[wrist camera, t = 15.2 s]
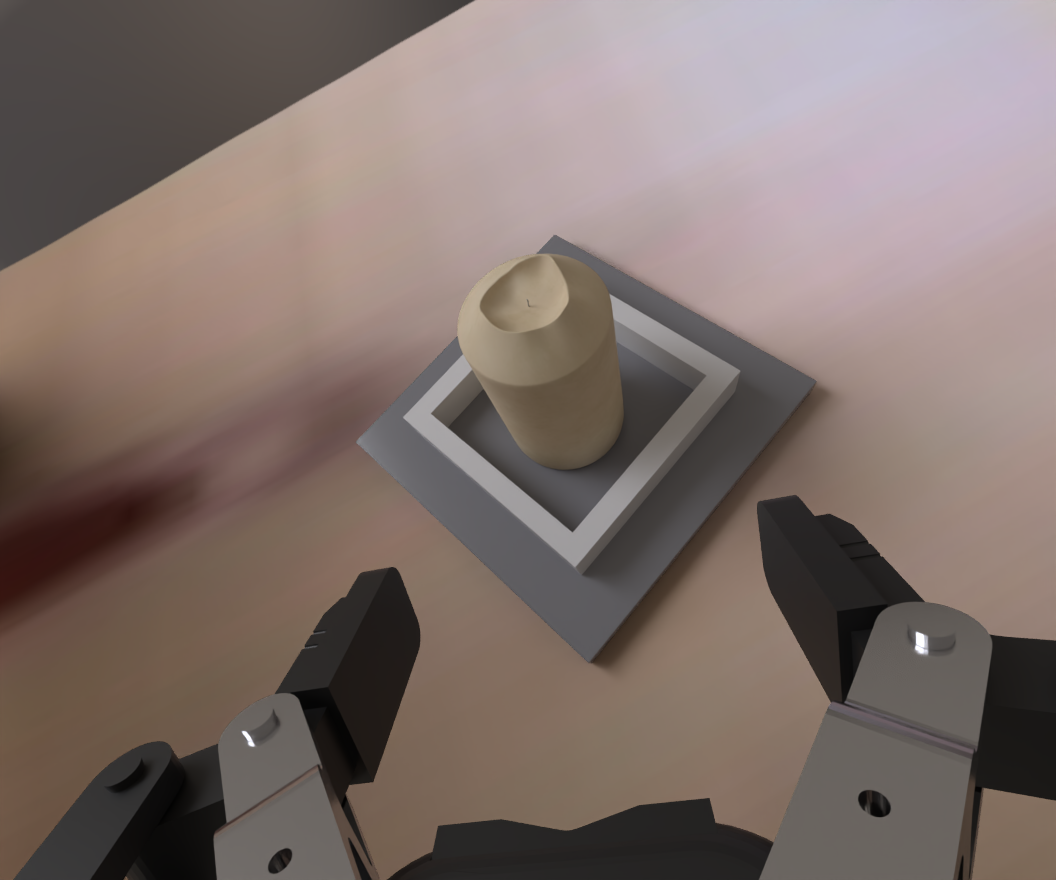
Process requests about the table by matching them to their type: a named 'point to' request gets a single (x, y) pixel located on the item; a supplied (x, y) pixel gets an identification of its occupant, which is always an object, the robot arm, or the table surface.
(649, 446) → the candle tray
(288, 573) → the table surface
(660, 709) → the table surface
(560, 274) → the candle
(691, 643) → the table surface
